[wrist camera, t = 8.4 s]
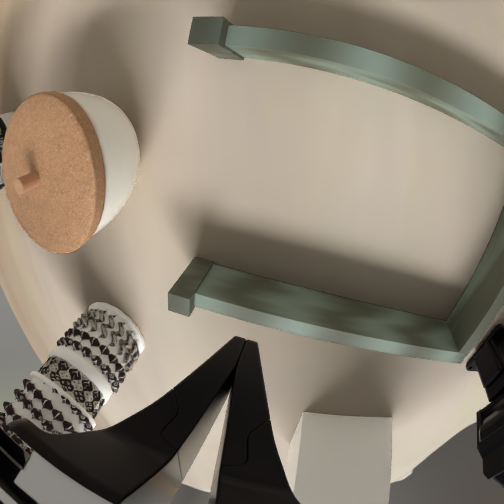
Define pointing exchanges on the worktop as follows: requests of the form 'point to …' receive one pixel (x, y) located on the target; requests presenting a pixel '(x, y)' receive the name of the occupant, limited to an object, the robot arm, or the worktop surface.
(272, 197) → the worktop surface
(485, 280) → the green shallow rectangular frame
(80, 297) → the worktop surface
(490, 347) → the robot arm
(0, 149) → the supplement can
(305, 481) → the milk
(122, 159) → the lidded jar
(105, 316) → the decorative candle
